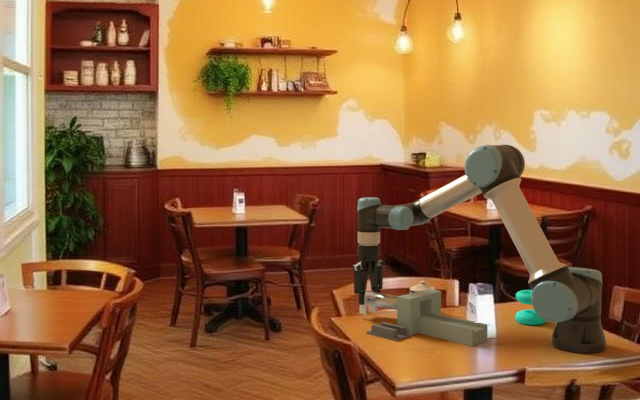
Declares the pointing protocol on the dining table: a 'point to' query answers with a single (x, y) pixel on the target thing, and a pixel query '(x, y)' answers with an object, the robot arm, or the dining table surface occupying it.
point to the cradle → (389, 331)
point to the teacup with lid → (421, 287)
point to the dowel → (381, 300)
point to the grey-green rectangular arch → (417, 308)
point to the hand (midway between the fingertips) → (368, 312)
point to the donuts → (527, 315)
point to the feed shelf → (453, 329)
